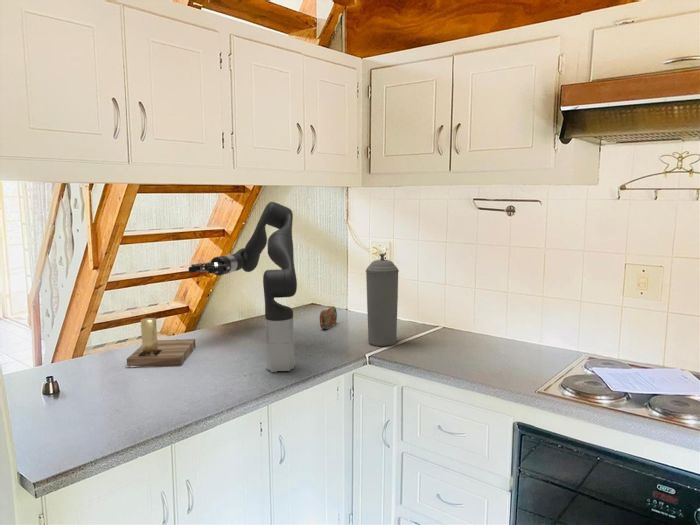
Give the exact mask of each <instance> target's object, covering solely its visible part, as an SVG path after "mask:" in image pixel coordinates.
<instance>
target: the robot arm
mask: <svg viewBox="0 0 700 525" xmlns="http://www.w3.org/2000/svg"><path fill="white" fill-rule="evenodd" d="M293 217H294V214H293V211H292V210H291V208H289V207H287V206H285V205H283V204H280V203H278V202H275V201H270V202H268V203H267V204H266V205H265V207H264V209H263V211H262V213H261V215H260V217H259V220H258V222H257V224H256V226H255V229H254V231H253V233H252V234H251V237H250V239H249V240H248V241H247V243H246V244H245V246H244V248H243V247H242V248H240V249H238V250H237V251H236V252H234V253H232V254H226V255H224V254H223V255H219V256H215V257H213V258H212V259H211V260H210V261H209V262H200V263H195V264H191V266H189V267H188V273H189V274H190V273H197V272H200V273H207V274H209V275H210V274H213V275H215V276H224V275H227V274H231V273H233V272H238V271H240V270H241V269H242V270H243V271H244V272H245V273H251V272H253V271H254V270H256V268H257V267H258V265H259V260H260V257H261V253H262V252H263V251H264V249H265V248H266V246H267V255H268V257H269V259H270V260H271V262H272V263H274V264H275V265H276V266H278V267H279V268H280V269H266V270H265V271H264V273H263V274H262V276H263V277H262V284H263V285H262V286H263V287H262V288H263V295H264V296H263V297H264V298H263V299H264V321H265V322H264V323H265V348H266V349H265V353H266V354H265V355H266V359H265V360H266V370H267V369H268V371H269V370H270V373H278V372H277V371H289V372H290V371H292V370H293V369H295V336H294V335H295V334H294V333H295V332H294V310H293V309H292V308H291V307H290V306H287V305H284V304H282V303H279V302H277V300H275V298H276V299H278V298H279V299H280V298H291V297H294V296H295V295H296V293H297V289H298V282H297V281H298V280H297V273H296V270H295V269H296V267H295V262H294V257H295V256H294V242H293V220H294V219H293ZM266 225H268V226H270V227H273V228H275V229H277V230H275V231H274V232H272V233H271V234H270V235H269V237H268V236H267V231H266V227H267V226H266ZM291 369H292V370H291Z"/></svg>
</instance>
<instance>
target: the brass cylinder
mask: <svg viewBox="0 0 700 525" xmlns="http://www.w3.org/2000/svg"><path fill="white" fill-rule="evenodd" d="M140 328H141V332H140V333H141V346H142V349H143V356H157V355H158V342H157V340H158V328H157V318H155V317H147V318H142V319H140Z"/></svg>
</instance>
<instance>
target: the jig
mask: <svg viewBox="0 0 700 525" xmlns="http://www.w3.org/2000/svg"><path fill="white" fill-rule="evenodd" d="M157 342H158V355H157V356H143V349H142V345H140V346H139V347H138V348H137V349H136V350H135V351H134V352H133V353H132V354H130V355H129V356H128V357H127V358H126V367H127V366H160V367H180V366H179V365H182V366H183V364H184V363H185V362H184V361H187V359H188V358H189V356H190V355H191V353H192V352H193V351H194V350H195V348H196V345H197V344H196V338H194V339H193V338H190V339H188V338H187V339H186V338H185V339H162V340H161V339H159V340H158V339H157Z"/></svg>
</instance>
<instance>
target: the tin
mask: <svg viewBox="0 0 700 525" xmlns="http://www.w3.org/2000/svg"><path fill="white" fill-rule="evenodd" d="M336 308H337V307H335V306H327V307H326V308H324V309H322V310H321V311H320V314H319V325H320V326H319V327H320V328H321V329H322V330H329V329H328V328H329V327H331V326H332V325H333V324H335V325H336V323H337V319H338V314H337V309H336ZM332 327H333V326H332ZM332 327H331V328H332Z"/></svg>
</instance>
